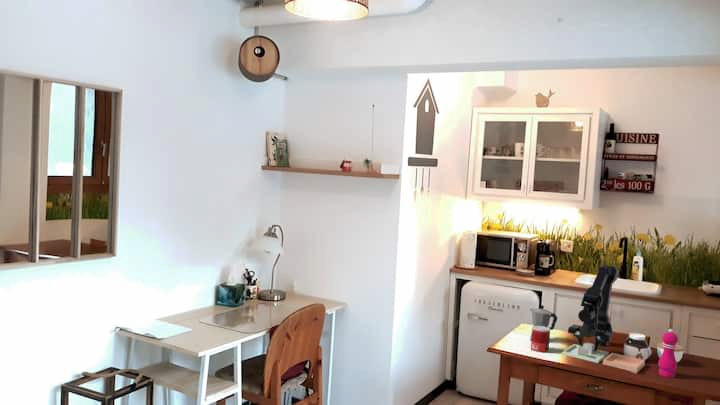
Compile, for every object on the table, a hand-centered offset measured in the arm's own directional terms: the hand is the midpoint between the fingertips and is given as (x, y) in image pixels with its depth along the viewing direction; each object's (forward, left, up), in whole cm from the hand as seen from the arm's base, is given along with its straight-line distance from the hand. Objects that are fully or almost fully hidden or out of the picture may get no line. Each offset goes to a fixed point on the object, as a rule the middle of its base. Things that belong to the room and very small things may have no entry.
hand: (588, 351), depth 279 cm
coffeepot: (-1, -23, -1) cm, 23 cm away
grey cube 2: (+8, 0, -1) cm, 8 cm away
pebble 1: (0, 0, -1) cm, 1 cm away
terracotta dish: (+5, +17, -1) cm, 18 cm away
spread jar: (-10, +19, -2) cm, 22 cm away
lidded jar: (-17, +31, -2) cm, 35 cm away
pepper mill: (+3, +34, -1) cm, 34 cm away
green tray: (+4, 0, -1) cm, 4 cm away
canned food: (+14, -18, -2) cm, 23 cm away
